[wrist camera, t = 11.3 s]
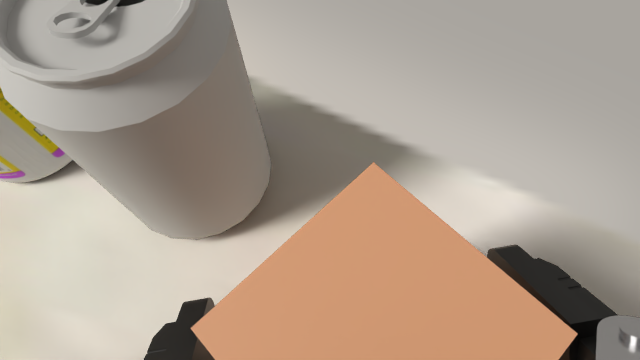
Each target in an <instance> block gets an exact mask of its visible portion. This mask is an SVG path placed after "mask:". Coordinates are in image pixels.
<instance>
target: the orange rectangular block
mask: <svg viewBox="0 0 640 360" xmlns="http://www.w3.org/2000/svg"><path fill="white" fill-rule="evenodd" d="M191 330H192V331H193V332H194V333H195V335H196V336H197V337H198V339H199V340H200V341H201V342H202V344H203V345H204V346H205V347H206V349H207V350H208V351H209V353H210V354H211V355H212V356H213V358H214V359H215V360H559V358H560V357H561V356H562V354H563V353H564V352H565V350H566V349H567V348H568V346H569V345H570V344H571V342H572V341H573V340H574V338H575V337H576V336H577V333H576V332H575V331H574V330H573V329H571V328H570V327H569V326H568V325H567V324H565V323H564V322H563V321H562V320H561V319H560V318H558V317H557V316H556V315H555V314H554V313H552V312H551V311H550V310H549V309H548V308H546V307H545V306H544V305H543V304H542V303H540V302H539V301H538V300H537V299H536V298H535V297H533V296H532V295H531V294H530V293H529V292H527V291H526V290H525V289H524V288H523V287H521V286H520V285H519V284H518V283H517V282H515V281H514V280H513V279H512V278H511V277H510V276H508V275H507V274H506V273H505V272H504V271H502V270H501V269H500V268H499V267H498V266H496V265H495V264H494V263H493V262H492V261H490V260H489V259H488V258H487V257H486V256H485V255H483V254H482V253H481V252H480V251H479V250H477V249H476V248H475V247H474V246H473V245H471V244H470V243H469V242H468V241H467V240H465V239H464V238H463V237H462V236H461V235H460V234H458V233H457V232H456V231H455V230H454V229H452V228H451V227H450V226H449V225H448V224H446V223H445V222H444V221H443V220H442V219H440V218H439V217H438V216H437V215H436V214H434V213H433V212H432V211H431V210H430V209H429V208H427V207H426V206H425V205H424V204H423V203H421V202H420V201H419V200H418V199H417V198H415V197H414V196H413V195H412V194H411V193H409V192H408V191H407V190H406V189H405V188H404V187H402V186H401V185H400V184H399V183H398V182H396V181H395V180H394V179H393V178H392V177H390V176H389V175H388V174H387V173H386V172H384V171H383V170H382V169H381V168H380V167H379V166H377V165H376V164H375V163H374V162H373V163H372V164H371V165H370V166H369V167H368V168H367V169H366V170H364V171H363V172H362V173H361V174H360V175H359V176H358V177H357V178H356V179H355V180H353V181H352V182H351V183H350V184H349V185H348V186H347V187H346V188H345V189H344V190H342V191H341V192H340V193H339V194H338V195H337V196H336V197H335V198H334V199H332V200H331V201H330V202H329V203H328V204H327V205H326V206H325V207H324V208H323V209H321V210H320V211H319V212H318V213H317V214H316V215H315V216H314V217H313V218H312V219H310V220H309V221H308V222H307V223H306V224H305V225H304V226H303V227H302V228H301V229H299V230H298V231H297V232H296V233H295V234H294V235H293V236H292V237H291V238H290V239H288V240H287V241H286V242H285V243H284V244H283V245H282V246H281V247H280V248H279V249H277V250H276V251H275V252H274V253H273V254H272V255H271V256H270V257H269V258H267V259H266V260H265V261H264V262H263V263H262V264H261V265H260V266H259V267H258V268H256V269H255V270H254V271H253V272H252V273H251V274H250V275H249V276H248V277H247V278H245V279H244V280H243V281H242V282H241V283H240V284H239V285H238V286H237V287H236V288H234V289H233V290H232V291H231V292H230V293H229V294H228V295H227V296H226V297H225V298H223V299H222V300H221V301H220V302H219V303H218V304H217V305H216V306H215V307H214V308H212V309H211V310H210V311H209V312H208V313H207V314H206V315H205V316H204V317H202V318H201V319H200V320H199V321H198V322H197V323H196V324H195V325H194V326H193V327H191Z"/></svg>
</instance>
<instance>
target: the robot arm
mask: <svg viewBox="0 0 640 360" xmlns="http://www.w3.org/2000/svg"><path fill="white" fill-rule="evenodd" d="M487 258H488V259H489V260H490V261H492V262H493V263H494V264H495V265H496V266H498V267H499V268H500V269H501V270H502V271H504V272H505V273H506V274H507V275H508V276H510V277H511V278H512V279H513V280H514V281H515V282H517V283H518V284H519V285H520V286H521V287H523V288H524V289H525V290H526V291H527V292H529V293H530V294H531V295H532V296H533V297H535V298H536V299H537V300H538V301H539V302H540V303H542V304H543V305H544V306H545V307H546V308H548V309H549V310H550V311H551V312H552V313H554V314H555V315H556V316H557V317H558V318H560V319H561V320H562V321H563V322H564V323H565V324H567V325H568V326H569V327H570V328H571V329H573V330H574V331H575V332H576V333H577V336H576V337H575V338H574V340H573V341H572V342H571V344H570V345H569V346H568V348H567V349H566V350H565V352H564V353H563V354H562V356H561V357H560V358H559V360H640V318H638V317H633V316H623V315H619V316H618V315H617V314H616V313H615V312H613V311H612V310H611V309H610V308H609V307H607V306H606V305H605V304H604V303H602V302H601V301H600V300H599V299H597V298H596V297H595V296H594V295H592V294H591V293H590V292H589V291H588V290H586V289H585V288H584V287H583V288H582V287H581V285H580V284H579V283H578V282H576V281H575V280H574V279H571V278H570V276H569V275H568V274H566V273H565V272H564V271H563V270H562V269H560V268H559V267H558V266H556V265H554V264H551V263H549V262H547V261H544V260H542V259H540V258H537V259H533V258H532V257H531V256H530V255H529V254H527V253H526V252H525V251H524V250H523V249H522V248H520V247H519V246H518V245H510V246H505V247H499V248H493V249H490V250H489V251H488V254H487ZM214 307H215V306H214V303H213V300H212V299H211V298H205V299H199V300H193V301H188V302H184V303H183V304H182V307H181V310H180V312H179V315H178V318H177V321H176V322H172V323H167V324H165V325H164V326H163V327H162V328H161V330H160V331H159V332H158V333H157V334H156V335H155V336H154V337H153V339H152V342H151V344H150V346H149V349H148V351H147V354H146V356H145V358H144V360H215V359H214V358H213V356H212V355H211V354H210V353H209V351H208V350H207V349H206V347H205V346H204V345H203V344H202V342H201V341H200V340H199V339H198V337H197V336H196V335H195V333H194V332H193V331H192V330H191V327H193V326H194V325H195V324H196V323H197V322H198V321H199V320H200V319H201V318H202V317H204V316H205V315H206V314H207V313H208V312H209V311H210V310H211V309H212V308H214Z"/></svg>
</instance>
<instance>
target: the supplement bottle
mask: <svg viewBox="0 0 640 360" xmlns="http://www.w3.org/2000/svg"><path fill="white" fill-rule="evenodd" d="M71 161H72V159H71V158H70V157H69V156H68V155H67V154H66V153H65V152H63V151H62V150H61V149H60V148H59V147H58V146H57V145H56V144H55V143H53V142H52V141H51V140H50V139H49V138H48V137H47V136H46V135H44V134H43V133H42V132H41V131H40V130H39V129H38V128H37V127H35V126H34V125H33V124H32V123H31V122H30V121H29V120H28V119H26V118H25V117H24V116H23V115H22V114H21V113H20V112H19V111H18V110H17V109H16V108H15V107H13V106H12V105H11V104H10V103H9V102H8V101H7V100H6V99H5V98H4V95H3V92H2V90H1V87H0V181H4V182H10V183H22V182H30V181H34V180H38V179H41V178H44V177H46V176H48V175H51V174H53V173H55V172H56V171H58V170H60V169H61V168H63V167H64V166H66V165H67V164H68V163H70V162H71Z"/></svg>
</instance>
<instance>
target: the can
mask: <svg viewBox="0 0 640 360" xmlns="http://www.w3.org/2000/svg"><path fill="white" fill-rule="evenodd" d="M0 87H1V90H2V92H3V95H4V98H5V99H6V100H7V101H8V102H9V103H10V104H11V105H12V106H13V107H15V108H16V109H17V110H18V111H19V112H20V113H21V114H22V115H23V116H24V117H25V118H26V119H28V120H29V121H30V122H31V123H32V124H33V125H34V126H35V127H37V128H38V129H39V130H40V131H41V132H42V133H43V134H44V135H46V136H47V137H48V138H49V139H50V140H51V141H52V142H53V143H55V144H56V145H57V146H58V147H59V148H60V149H61V150H62V151H63V152H65V153H66V154H67V155H68V156H69V157H70V158H71V159H72V160H74V161H75V162H76V163H77V164H78V165H79V166H80V167H81V168H83V169H84V170H85V171H86V172H87V173H88V174H89V175H90V176H91V177H93V178H94V179H95V180H96V181H97V182H98V183H99V184H100V185H102V186H103V187H104V188H105V189H106V190H107V191H108V192H109V193H111V194H112V195H113V196H114V197H115V198H116V199H117V200H118V201H119V202H121V203H122V204H123V205H124V206H125V207H126V208H127V209H128V210H130V211H131V212H132V213H133V214H134V215H135V216H136V217H137V218H139V219H140V220H141V221H142V222H143V223H144V224H145V225H146V226H148V227H149V228H150V229H151V230H153V231H155V232H158V233H160V234H163V235H165V236H168V237H170V238H175V239H195V240H197V239H201V238H205V237H209V236H213V235H217V234H221V233H222V232H224V231H226V230H228V229H229V228H231V227H233V226H234V225H236V224H238V223H240V222H241V221H243V220H244V219H245V218H246V217H247V216H248V214H249V213H250V212H251V211H252V210H253V209H254V208H255V207H256V206H257V205H258V204H259V202H260V200H261V198H262V196H263V194H264V192H265V190H266V188H267V186H268V184H269V178H270V170H271V160H270V155H269V151H268V147H267V143H266V139H265V136H264V132H263V129H262V125H261V121H260V118H259V114H258V111H257V107H256V104H255V100H254V97H253V93H252V89H251V86H250V82H249V79H248V75H247V72H246V68H245V65H244V61H243V58H242V54H241V50H240V47H239V43H238V40H237V36H236V32H235V29H234V25H233V22H232V19H231V15H230V11H229V8H228V4H227V0H0Z"/></svg>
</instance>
